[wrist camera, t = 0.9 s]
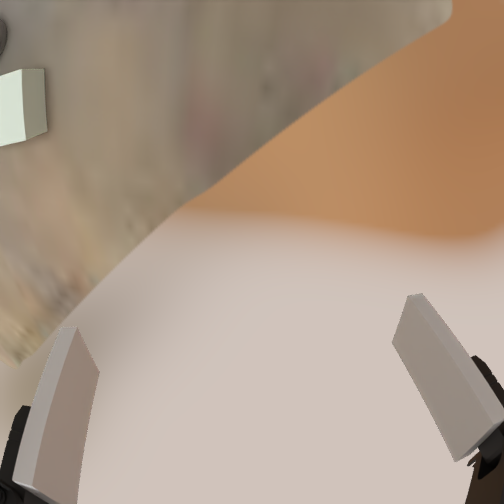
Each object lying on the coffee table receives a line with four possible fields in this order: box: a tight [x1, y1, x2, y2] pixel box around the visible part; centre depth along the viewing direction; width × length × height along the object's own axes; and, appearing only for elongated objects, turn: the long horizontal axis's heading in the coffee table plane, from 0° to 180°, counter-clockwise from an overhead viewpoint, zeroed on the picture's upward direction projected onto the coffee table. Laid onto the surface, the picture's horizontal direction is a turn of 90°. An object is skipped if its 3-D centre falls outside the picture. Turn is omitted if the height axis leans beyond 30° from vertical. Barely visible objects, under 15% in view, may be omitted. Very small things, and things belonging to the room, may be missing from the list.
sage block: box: [0, 69, 48, 146], centre depth 23 cm, size 7×7×5 cm
